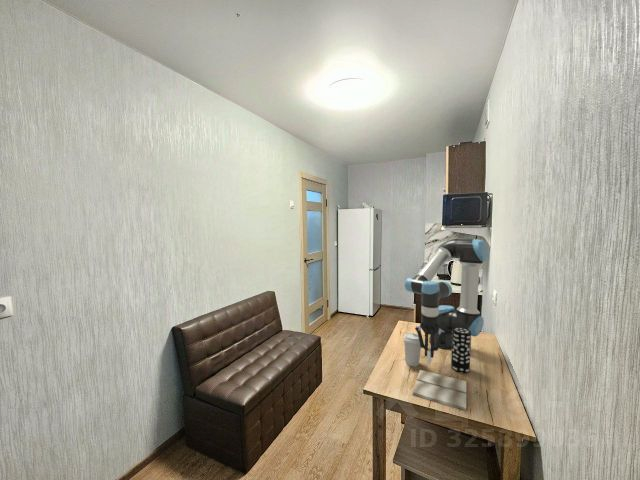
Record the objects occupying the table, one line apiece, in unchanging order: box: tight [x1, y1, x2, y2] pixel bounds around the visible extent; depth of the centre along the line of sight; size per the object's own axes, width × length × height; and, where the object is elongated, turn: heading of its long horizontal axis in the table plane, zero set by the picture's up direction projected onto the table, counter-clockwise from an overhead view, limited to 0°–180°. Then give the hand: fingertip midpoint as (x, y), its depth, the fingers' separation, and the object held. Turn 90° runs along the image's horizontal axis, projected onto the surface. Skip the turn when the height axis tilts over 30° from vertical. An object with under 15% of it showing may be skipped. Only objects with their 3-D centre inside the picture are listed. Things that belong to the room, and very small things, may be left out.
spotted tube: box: [450, 327, 472, 374], centre depth 135 cm, size 8×8×20 cm
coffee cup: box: [402, 332, 422, 367], centre depth 140 cm, size 10×10×15 cm
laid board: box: [412, 380, 467, 412], centre depth 114 cm, size 20×10×1 cm, turn 61°
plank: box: [416, 369, 467, 395], centre depth 123 cm, size 20×9×1 cm, turn 61°
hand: (429, 363), depth 128 cm, fingers closed
